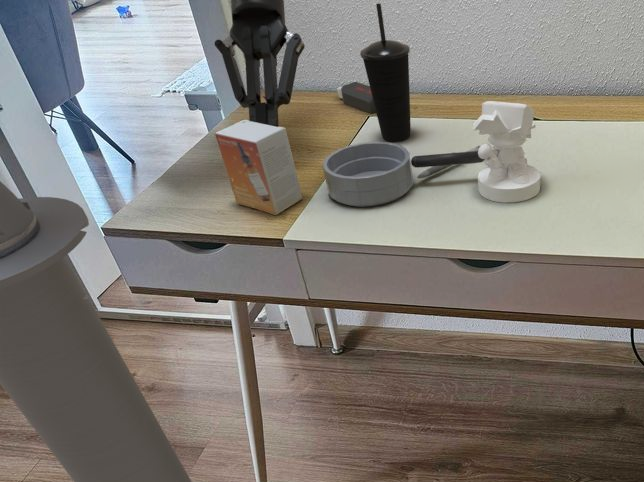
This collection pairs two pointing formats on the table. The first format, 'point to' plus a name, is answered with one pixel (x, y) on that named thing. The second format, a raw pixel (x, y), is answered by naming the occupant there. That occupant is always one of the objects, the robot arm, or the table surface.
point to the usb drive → (357, 96)
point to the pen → (439, 167)
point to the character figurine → (506, 153)
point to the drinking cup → (389, 84)
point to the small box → (259, 166)
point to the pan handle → (446, 159)
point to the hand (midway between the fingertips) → (265, 149)
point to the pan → (368, 173)
